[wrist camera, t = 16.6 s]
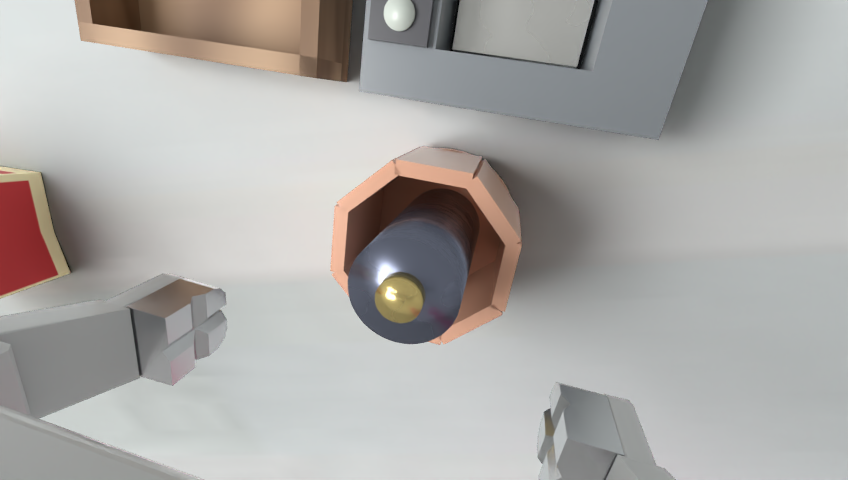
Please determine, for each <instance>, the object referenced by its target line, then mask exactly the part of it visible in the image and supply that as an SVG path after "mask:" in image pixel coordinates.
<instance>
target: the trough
mask: <svg viewBox="0 0 848 480" xmlns="http://www.w3.org/2000/svg"><path fill="white" fill-rule="evenodd" d="M352 4H353V0H75V6H76V12H77V19H78V25H79V32H80V38H81V41H87V42H93V43H100V44H106V45H112V46H118V47H125V48H131V49H137V50H143V51H150V52H156V53H162V54H168V55H175V56H181V57H187V58H194V59H200V60H206V61H212V62H219V63H225V64H231V65H237V66H244V67H250V68H256V69H263V70H269V71H275V72H281V73H288V74H294V75H300V76H306V77H313V78H320V79H327V80H335V81H343V82H347V75H348V61H349V47H350V32H351V18H352Z"/></svg>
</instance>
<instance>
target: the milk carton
mask: <svg viewBox="0 0 848 480" xmlns="http://www.w3.org/2000/svg"><path fill="white" fill-rule="evenodd" d="M67 274H70V270H69V268H68V265H67V263H66V260H65V258H64V255H63V253H62V251H61V248H60V246H59V243H58V241H57V238H56V236H55V233H54V230H53V225H52V221H51V216H50V212H49V207H48V203H47V198H46V194H45V189H44V185H43V180H42V176H41V172H34V171H28V170H21V169H15V168H8V167H2V166H0V299H1V298H3V297H6V296H9V295H12V294H14V293H17V292H20V291H23V290H25V289H28V288H31V287H34V286H37V285H39V284H42V283H45V282H48V281H50V280H53V279H56V278H59V277H62V276H64V275H67Z"/></svg>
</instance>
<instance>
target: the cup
mask: <svg viewBox="0 0 848 480" xmlns="http://www.w3.org/2000/svg"><path fill="white" fill-rule="evenodd" d="M437 188H444V189H450V190H454V191H456V192H458V193H460V194H462V195H463V196H465V197H466V198H467V199H468V200H469V201H470V202H471V203H472V205H473V206H474V208H475V209H476V212H477V214H478V217H479V223H480V229H479V235H478V239H477V243H476V247H475V251H474V255H473V259H472V263H471V266H470V270H469V274H468V278H467V282H466V286H465V290H464V294H463V298H462V302H461V306H460V309H459V313H458V315H457V318H456V320H455V321H454V323H453V324H452V326H451V327H450V328H449V329H448V330H447V331H446V332H445V333H443V334H442V335H441V336H439V337H437V338H435V339H433V340H431V341H428V342H431V343H435V344H439V345H440V344H441V341H442V342H443V344H446V343H448V342H450V341H452V340H454V339H456V338H458V337H460V336H462V335H464V334H465V333H467V332H469V331H471V330H473V329H475V328H477V327H479V326H481V325H483V324H485V323H487V322H489V321H491V320H493V319H495V318H497V317H499V316H501V315H502V311H504V312H505V309H506V305H507V301H508V297H509V294H510V290H511V286H512V282H513V278H514V274H515V270H516V266H517V262H518V258H519V254H520V251H521V247H522V239H521V227H520V215H519V208H518V206H517V205H516V204H515V202H514V201H513V199H512V198H511V195H510V193H509V190H508V188H507V187H506V185H505V183H504V181H503V180H502V179H501V177H500V176H499V175H498V173H497V172H496V171H495V170H494V169H493V168H492V167H491V166H490V165H489V163H488V162H487V160H486V159H484V160H482V156H476V155H472V154H469V153H467V152H464V151H461V150H457V149H450V148H432V147H426V146H422V147H418V148H416V149H414V150H412V151H410V152H408V153H406V154H404V155H402V156H400V157H398V158H395V159H393V160H392V161H390V162H389V163H388V164H386V165H385V166H384V167H382V168H381V169H380V170H378V171H377V172H376V173H374V174H373V175H372V176H371V177H369V178H368V179H367V180H365V181H364V182H363V183H361V184H360V185H359V186H357V187H356V188H355V189H353V190H352V191H351V192H350V193H348V194H347V195H346V196H344V197H343V198H342V199H340V200H339V201H338V202H337V205H335V210H334V225H333V240H332V255H331V270H330V271H333V272H334V273H333V274H332V276H333V277H334V278H335V279H336V281H337V282H338V283H339V284H340V286H341V287H342V288H343V290H344V291H345V292H346V293H347V295H348V296H349V294H348V275H349V271H350V268H351V266H352V264H353V262H354V260H355V259H356V257H357V256H358V255H359V254H360V253H361V252H362V251H363V250H364V249H365V248H366V247H367V246H368V245H369V244H370V243H371V242H372V241H373V240H374V239H375V238H376V237H377V236H378V235H379V234H380V233H381V232H382V231H383V230H384V229H385V228H386V227H387V226H388V225H389V224H390V223H391V222H392V221H393V220H394V219H395V218H396V217H397V216H398V215H399V214H400V213H401V212H402V211H403V210H404V209H405V208H406V207H407V206H408V205H409V204H410V203H411V202H412V201H413V200H414V199H415V198H416V197H418V196H419V195H420V194H422V193H423V192H426V191H428V190H431V189H437Z"/></svg>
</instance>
